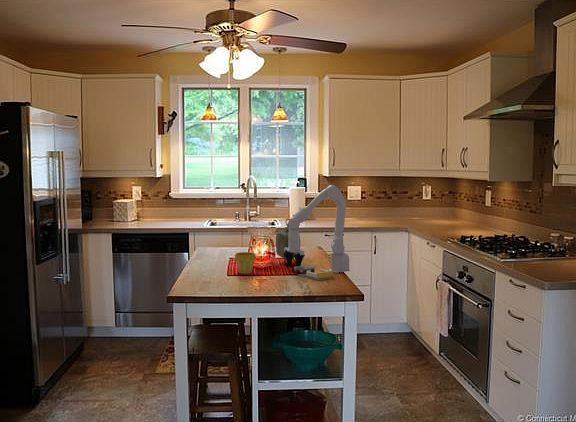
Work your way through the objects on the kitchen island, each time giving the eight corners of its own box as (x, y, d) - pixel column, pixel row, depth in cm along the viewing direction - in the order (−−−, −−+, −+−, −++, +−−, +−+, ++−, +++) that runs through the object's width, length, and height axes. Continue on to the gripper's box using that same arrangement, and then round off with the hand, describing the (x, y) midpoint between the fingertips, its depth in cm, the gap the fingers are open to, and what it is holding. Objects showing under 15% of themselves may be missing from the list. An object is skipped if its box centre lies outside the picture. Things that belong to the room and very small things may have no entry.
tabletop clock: (300, 265, 292) (300, 219, 289) (284, 266, 288) (284, 220, 286) (290, 260, 305) (290, 217, 303) (275, 261, 302) (275, 217, 299)
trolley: (304, 271, 275) (304, 264, 275) (315, 272, 268) (315, 265, 268) (294, 273, 271) (294, 266, 271) (305, 274, 264) (305, 267, 264)
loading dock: (312, 272, 272) (312, 265, 272) (333, 277, 260) (333, 270, 259) (297, 274, 266) (297, 267, 266) (317, 280, 254) (317, 273, 253)
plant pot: (255, 270, 277) (255, 251, 276) (255, 274, 267) (255, 255, 266) (235, 270, 277) (235, 251, 276) (234, 274, 267) (234, 255, 266)
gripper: (279, 239, 279) (279, 265, 280) (296, 243, 267) (296, 270, 268) (290, 238, 283) (290, 264, 284) (307, 241, 271) (307, 268, 273)
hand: (293, 266), depth 276 cm, fingers open, 7 cm apart
